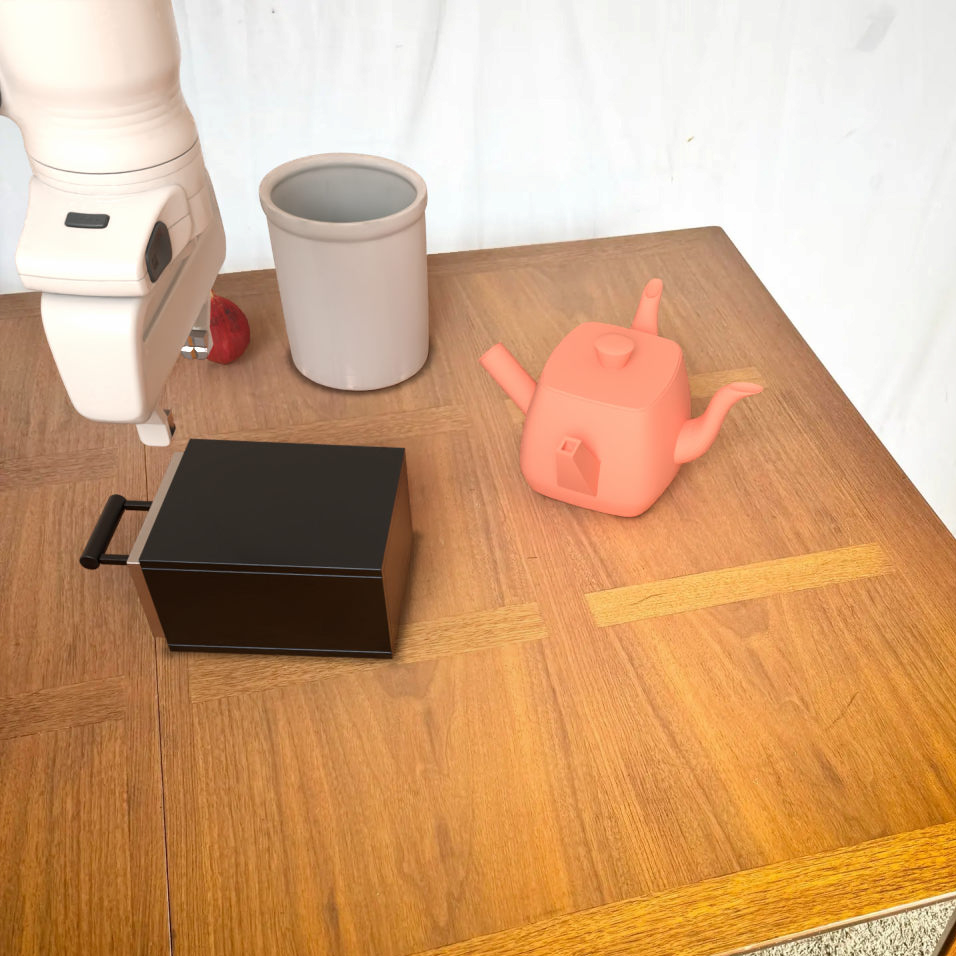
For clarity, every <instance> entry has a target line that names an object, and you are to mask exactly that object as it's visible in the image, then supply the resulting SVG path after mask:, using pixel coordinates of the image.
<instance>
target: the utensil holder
mask: <svg viewBox="0 0 956 956" xmlns="http://www.w3.org/2000/svg"><path fill="white" fill-rule="evenodd" d="M258 198H259V203H260V207H261V209H262V211H263V213H264V215H265V217H266V223H267V230H268V235H269V240H270V241H269V242H270V246H271V247H270V248H271V252H272V257H273V263H274V268H275V273H276V280H277V285H278V290H279V296H280V300H281V308H282V314H283V319H284V323H285V329H286V333H287V334H286V335H287V339H288V345H289V349H290V355H291V358H292V361H293V364H294V365H295V368H296V369H297V370H298V371H299V372H300V373H301V374H302V375H303V376H304V377H306V378H307V379H308V380H310V381H312V382H314V383H316V384H318V385H322V386H324V387H326V388H327V387H328V388H331V389H336V390H342V391H357V392H358V391H359V392H360V391H361V392H362V391H374V390H379V389H384V388H388V387H391V386H395V385H397V384H400V383H402V382H404V381H407V380H408V379H410V378H411V377H413V376H414V375H416V374H417V373H418V372H419V371H421V369H422V368H423V367H424V366H425V364H426V363H427V362H426V361H427V360H428V357H429V356H428V355H429V348H430V347H429V345H430V342H429V341H430V339H429V338H430V333H429V331H430V330H429V324H430V323H429V322H430V320H429V318H430V317H429V316H430V315H429V311H430V309H429V307H430V306H429V284H428V279H429V278H428V253H427V251H428V249H427V247H428V246H427V221H426V219H427V218H426V210H427V206H428V187H427V184H426V181H425V180H424V178H423V177H422V175H420V174H419V173H418V172H417V171H415V170H414V169H412V168H411V167H410V166H407V165H405V164H403V163H401V162H398V161H396V160H393V159H389V158H386V157H383V156H378V155H371V154H365V153H355V152H325V153H324V152H323V153H317V154H312V155H311V154H310V155H307V156H303V157H299V158H295V159H292V160H289V161H287V162H285V163H281V164H280V165H278V166H276V167H274V168H273V169H272V170H270V171H269V172H267V173H266V174H265V175H264V177H263V178H262V179H261V181H260V183H259V186H258Z"/></svg>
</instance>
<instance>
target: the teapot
mask: <svg viewBox="0 0 956 956" xmlns="http://www.w3.org/2000/svg"><path fill="white" fill-rule="evenodd" d="M663 288H664V283H663V281H662V280H661V279H660V278H652V279H651V280H650V281H648V282H647V284H646V285H645V286H644V288H643V290H642V294H641V297H640V300H639V303H638V306H637V309H636V312H635V314H634V318H633V320H632V323H631V325H630V328H628V327H625V326H624V327H623V326H619V325H614V324H609V323H604V322H599V321H586V322H583V323H581V324H579V325H577V326H576V327H574V328H573V329H572V330H571V331H569V332H568V333H567V335H565V336H564V337H563V339H561V341H560V342H559V343H558V344H556V345H557V346H555V348H554V349H553V350H552V352H551V354H550V355H549V357H548V359H547V361H546V363H545V365H544V367H543V369H542V371H541V373H540V375H539V378H538V381H537V382H536V380H535V379H534V378H533V377H532V376H531V375H530V374H529V373H528V371H527V370H526V369H525V368H524V367H523V365H522V364H521V363H520V362H519V361H518V360H517V358H516V357H515V356H514V355H513V354H512V352H511V351H510V350H509V349H508V348H507V347H506V346H505V344H504V343H503V342H502V341H498V342H497V343H496V344H494V345H493V346H491V347H490V348H489V349H488V350H487V351H485V352H484V353H483V354H482V355H481V356H480V357H479V359H478V360H477V362H478V363H479V365H481V367H482V368H483V369H484V370H485V371H486V372H487V374H488V375H489V376H490V377H491V378H492V379H493V381H494V382H495V383H496V384H497V385H498V387H500V389H501V390H502V391H503V392H504V393H505V394H506V395H507V397H508V398H510V400H511V401H512V402H513V404H514V405H515V406H516V407H517V408H518V410H519V411H520V412H521V413H522V414H523V415H524V416H525V418H524V421H523V427H522V433H521V439H520V446H519V468H520V470H521V473H522V475H523V477H524V479H525V480H526V482H527V485H529V487H530V488H531V489H532V490H533V491H535V492H536V493H538V494H540V495H543V496H546V497H548V498H551V499H554V500H557V501H560V502H563V503H566V504H570V505H573V506H577V507H579V508H583V509H587V510H592V511H595V512H599V513H604V514H608V515H613V516H619V517H624V518H627V517H628V518H632V517H637V516H640V515H642V514H643V513H645V512H647V510H649V509H650V508H651V507H652V506H653V505H654V504H655V503H656V502H657V501H658V499H660V497H661V496H662V495H663V493H664V492H665V491H666V489H668V487H669V486H670V484H671V483H672V482H673V481H674V479H675V478H676V476H677V474H678V473H679V470H680V469H681V468H682V465H683V464H687V463H690V462H693V461H695V460H697V459H699V458H701V457H702V456H704V454H706V453H707V452H708V451H709V450H710V449H711V447H712V445H713V444H714V443H715V441H716V440H717V437H718V436H719V434H720V431H721V429H722V427H723V424H724V422H725V420H726V417H727V415H728V414H729V411H730V410H731V409H732V408H733V407H734V405H735V404H736V403H738V402H740V400H741V401H742V399H745V398H748V397H751V396H753V395H757V394H760V393H762V392H763V391H764V386H762V385H759V384H756V383H752V382H743V381H742V382H740V381H739V382H731V383H727V384H725V385H723V386H722V387H720V388H718V390H717V391H716V392H715V393H714V394H713V396H712V397H711V398H710V401H709V403H708V404H707V407H706V409H705V411H704V412H703V413H702V414H701V415H700V416H698V417H693V418H692V396H691V386H690V381H689V376H688V372H687V367H686V361H685V357H684V354H683V351H682V347H681V346H680V345H679V343H677V342H676V341H674V340H671V339H668V338H665V337H663V336H659V335H660V334H659V309H660V302H661V298H662V294H663Z"/></svg>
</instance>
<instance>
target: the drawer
mask: <svg viewBox="0 0 956 956" xmlns="http://www.w3.org/2000/svg"><path fill="white" fill-rule="evenodd" d="M183 453H184V451H174V452H173V454H172V457H171V459H170V462H169V464H168V466H167V468H166V471H165V473H164V475H163V478H162V480H161V482H160V485H159V486H158V489H157V491H156V494H155V496H154V498H153V500H130V499H127V498H126V497H125V496H123V495H121V494H117V493H114V494H111V495H110V496H109V497H108V498H107V501H106V502H105V505H104V507H103V510H102V511H101V513H100V516H99V517H98V519H97V521H96V523H95V525H94V528H93V530H92V532H91V534H90V536H89V538H88V540H87V543H86V545H85V547H84V549H83V551H82V553H81V555H80V557H79V559H78V561H79V565H80V566H81V567H83V568H84V569H86V570H90V571H95V570H97V569H99V568H100V566H101V565H103V566H125V567H127V568H128V571H129V573H130V574H129V575H130V577H131V579H132V582H133V585H134V587H135V591H136V594H137V596H138V599H139V602H140V604H141V607H142V610H143V613H144V615H145V618H146V621H147V623H148V626H149V629H150V632H151V634H152V637H153V638H165V635H164V632H163V629H162V626H161V624H160V621H159V618H158V615H157V612H156V609H155V607H154V604H153V601H152V598H151V595H150V592H149V590H148V587H147V584H146V581H145V578H144V575H143V573H142V570H141V567H140V564H139V561H138V559H139V557H140V555H141V552H142V550H143V548H144V545H145V543H146V541H147V538H148V536H149V534H150V531H151V529H152V526H153V524H154V522H155V519H156V517H157V515H158V512H159V510H160V508H161V505H162V503H163V501H164V498H165V496H166V493H167V491H168V489H169V486H170V484H171V482H172V479H173V477H174V475H175V472H176V470H177V468H178V465H179V463H180V460H181V458H182V456H183ZM126 511H130V512H131V511H134V512H147V514H146V516H145V519H144V522H143V523H142V526H141V528H140V530H139V533H138V535H137V538H136V540H135V542H134V544H133V547H132V549H131V551H130V554H119V553H118V554H117V553H116V554H115V553H106V552H107V550H108V549H109V546H110V544H111V541H112V539H113V538H114V535H115V533H116V530H117V529H118V526H119V525H120V522H121V520H122V518H123V515H124V513H125V512H126Z"/></svg>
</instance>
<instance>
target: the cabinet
mask: <svg viewBox="0 0 956 956" xmlns="http://www.w3.org/2000/svg"><path fill="white" fill-rule="evenodd" d="M183 452H184V453H183V456H182V458H181V460H180V463H179V465H178V468H177V470H176V472H175V475H174V477H173V479H172V482H171V484H170V486H169V489H168V491H167V493H166V496H165V498H164V501H163V503H162V505H161V508H160V510H159V512H158V515H157V517H156V519H155V522H154V524H153V526H152V529H151V531H150V534H149V536H148V538H147V541H146V543H145V545H144V548H143V550H142V552H141V555H140V557H139V559H138V561H139V564H140V567H141V570H142V573H143V575H144V578H145V581H146V584H147V587H148V590H149V592H150V595H151V598H152V601H153V604H154V607H155V609H156V612H157V615H158V618H159V621H160V624H161V626H162V629H163V632H164V635H165V637H164V638H165V641H166V643H167V646H168V649H169V651H170V652H171V653H173V652H174V653H198V654H199V653H202V654H204V653H205V654H227V655H228V654H230V655H231V654H232V655H256V656H257V655H258V656H259V655H262V656H289V657H314V658H315V657H316V658H343V659H344V658H345V659H346V658H348V659H371V660H373V659H375V660H376V659H377V660H392V659H393V658H394V653H395V646H396V641H397V635H398V629H399V623H400V617H401V611H402V605H403V600H404V593H405V590H406V588H405V587H406V584H407V583H406V582H407V576H408V571H409V565H410V559H411V554H412V549H413V541H414V532H413V531H414V530H413V519H412V506H411V497H410V486H409V485H410V484H409V475H408V464H407V453H406V448H405V447H395V446H376V445H375V446H374V445H373V446H372V445H349V444H348V445H347V444H328V443H327V444H324V443H304V442H283V441H282V442H280V441H261V440H260V441H259V440H257V441H256V440H235V439H216V438H215V439H213V438H212V439H211V438H189V439H188V441H187V444H186V446H185V449H184V451H183Z"/></svg>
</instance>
